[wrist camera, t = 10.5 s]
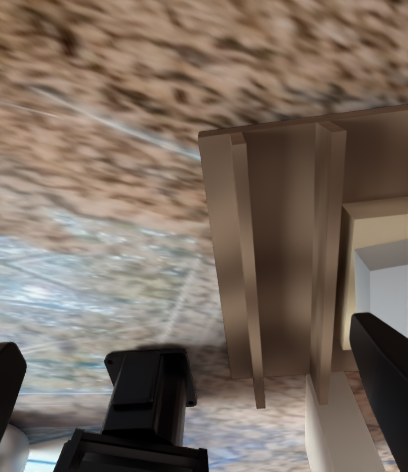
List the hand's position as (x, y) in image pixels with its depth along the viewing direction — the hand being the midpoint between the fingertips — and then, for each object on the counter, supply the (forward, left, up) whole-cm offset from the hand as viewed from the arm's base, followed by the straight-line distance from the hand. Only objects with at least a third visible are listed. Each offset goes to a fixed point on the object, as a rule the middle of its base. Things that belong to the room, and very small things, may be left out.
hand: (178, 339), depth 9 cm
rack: (-6, -7, -12) cm, 15 cm away
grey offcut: (-6, -10, -8) cm, 15 cm away
